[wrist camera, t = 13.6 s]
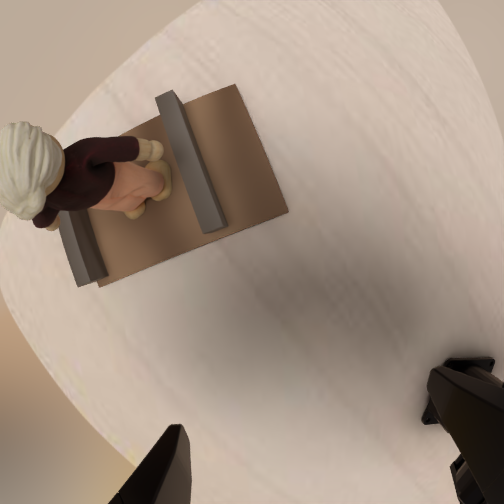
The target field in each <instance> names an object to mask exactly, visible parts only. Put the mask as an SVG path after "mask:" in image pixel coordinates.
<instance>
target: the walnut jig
mask: <svg viewBox="0 0 504 504" xmlns="http://www.w3.org/2000/svg"><path fill="white" fill-rule="evenodd" d="M155 100H156V103H157V106H158V109H159V112H160V115H159V116H157V117H155V118H153V119H151V120H149V121H147V122H145V123H143V124H141V125H139V126H137V127H135V128H133V129H131V130H129V131H127V132H125V133H124V134H122V135H120V136H134V137H136V138H140V139H146V140H148V141H151V140H155V141H158V142H160V143H161V144H162V145H163V148H164V153H163V156H162V157H161V158H160V159H159V160H163V161H166V162H167V163H168V164H169V166H170V169H171V182H172V192H171V194H170V196H169V197H168V198H166V199H164V200H161V201H155V200H153V199H152V198H151V197H147V198H146V199H145V200H144V202H145V206H146V207H145V211H144V213H143V214H142V215H141V216H140V217H139V218H137V219H129V218H128V217H127V216H126V215H125V214H124V212H123V211H113V210H100V209H94V208H88V209H85V210H79V211H60V212H59V213H58V216H59V217H60V225H59V227H58V228H59V231H60V235H61V238H62V242H63V245H64V248H65V251H66V255H67V258H68V261H69V264H70V267H71V270H72V273H73V275H74V278H75V281H76V284H77V286H78V287H81V286H84V285H87V284H90V283H93V282H96V281H97V283H98V286H99V288H100V287H102V286H105V285H107V284H110V283H112V282H114V281H117V280H119V279H122V278H124V277H126V276H129V275H131V274H134V273H136V272H138V271H141V270H143V269H146V268H148V267H151V266H153V265H155V264H158V263H160V262H163V261H165V260H168V259H170V258H173V257H175V256H178V255H180V254H182V253H185V252H187V251H190V250H192V249H195V248H197V247H200V246H203V245H205V244H208V243H210V242H213V241H215V240H218V239H220V238H223V237H225V236H228V235H230V234H233V233H236V232H238V231H241V230H243V229H246V228H248V227H251V226H254V225H256V224H259V223H261V222H264V221H267V220H269V219H272V218H275V217H277V216H280V215H282V214H285V213H288V212H289V211H288V208H287V206H286V203H285V200H284V198H283V195H282V193H281V190H280V188H279V185H278V183H277V180H276V178H275V175H274V173H273V170H272V168H271V166H270V163H269V161H268V158H267V156H266V153H265V151H264V149H263V146H262V144H261V142H260V139H259V137H258V134H257V132H256V130H255V127H254V125H253V123H252V120H251V118H250V116H249V114H248V111H247V109H246V107H245V105H244V102H243V100H242V98H241V96H240V93H239V91H238V89H237V87H236V85H235V84H233V85H230V86H228V87H225V88H222V89H220V90H217V91H214V92H212V93H209V94H207V95H204V96H202V97H199V98H197V99H195V100H192V101H190V102H188V103H185V104H182V102H181V101H180V100H179V98H178V97H177V95H176V94H175V92H174V91H173V90H170V91H168V92H166V93H164V94H162V95H160V96H158V97H155ZM118 137H119V136H118ZM129 162H131V163H134V164H136V165H138V166H141V167H144V168H145V167H146V165H147V164H148V163H150V162H152V161H148V160H143V161H129Z"/></svg>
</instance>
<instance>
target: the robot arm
mask: <svg viewBox="0 0 504 504" xmlns="http://www.w3.org/2000/svg"><path fill="white" fill-rule="evenodd" d="M450 363H451V364H450ZM449 364H450V366H449ZM494 364H495V360H494V359H493V358H491V357H488V358H450V359H448V360H447V361H446V362H445V364H444V366H438V367H435V368H433V369H432V370H431V371H430V375H429V379H428V382H427V390H428V392H429V394H430V396H431V400H430V402H429V404H428V407H427V409H426V411H425V413H424V416H423V418H422V422H423V424H424V425H429V424H438V423H440V424H441V426H442V427H443V428H444V429H445V430H446V432H447V433H450V435H451V437H452V438H453V440H454V442H455V444H456V445H457V447H458V449H459V451H460V452H461V454H460V455H459V456H458V458H457V459H456V460H455V461H454V462H453V463H452V464H451V466H450V470H451V473H452V477H453V481H454V485H455V489H456V493H457V497H458V500H459V502H460V504H504V382H502V381H501V380H500V379H498V378H497V377H495V376H494V375H493V374H491V372H492V369H493V366H494ZM191 486H192V476H191V458H190V442H189V438H188V436H187V433H186V431H185V429H184V427H183V425H182V424H171V425H169V426H168V428H167V429H166V430H165V432H164V433H163V434H162V436H161V437H160V438H159V440H158V441H157V442H156V444H155V445H154V446H153V448H152V449H151V450H150V452H149V453H148V454H147V455H146V457H145V458H144V459H143V461H142V462H141V463H140V464H139V466H138V467H137V468H136V470H135V471H134V472H133V473H132V475H131V476H130V477H129V478H128V480H127V481H126V482H125V484H124V485H123V486H122V487H121V489H120V490H119V491H118V492H119V493H116V495H115V496H114V497H113V498H112V500H111V501H110V502H109V503H108V504H190V500H191Z"/></svg>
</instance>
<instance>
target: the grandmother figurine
mask: <svg viewBox="0 0 504 504" xmlns="http://www.w3.org/2000/svg"><path fill="white" fill-rule="evenodd" d="M163 153H164V148H163V145H162V144H161V143H160V142H158V141H155V140H151V141H148V140H146V139H140V138H136V137H134V136H119V137H108V138H101V137H92V138H85V139H82V140H79V141H77V142H76V143H74V144H72V145H70V146H69V147H67V148H65V149H64V150H63V149H62V147H61V145H60V143H59V142H58V141H57V140H56V139H55V138H54V137H53V136H51V135H49V134H47V133H44V132H42V128H41V127H40V126H36V127H34V126H32V125H30V123H29V122H18V123H9V124H7V125H6V126H5V127H3V128H2V129H1V130H0V204H1V205H2V206H3V207H4V208H5V209H6V210H8V211H9V212H11V213H13V214H15V215H16V216H17V217H18V218H19V219H22V220H27V221H28V220H31V219H32V220H33V224H34V225H35V226H36V227H37V228H46V229H47V230H49V231H54V230H56V229H57V228H58V227H59V225H60V217H59V216H58V213H59V212H60V211H79V210H85V209H88V208H94V209H100V210H113V211H123V212H124V214H125V215H126V216H127V217H128V218H129V219H137V218H139V217H140V216H141V215H142V214H143V213H144V211H145V207H146V206H145V202H144V200H145V199H146V198H147V197H151V198H152V199H153V200H155V201H161V200H164V199H166V198H168V197H169V196H170V194H171V192H172V182H171V169H170V166H169V164H168V163H167V162H166V161H163V160H159V159H160V158H161V157H162V156H163ZM143 160H148V161H152V162H150V163H148V164H147V165H146V167H145V168H144V167H141V166H138V165H136V164H134V163H131V162H129V161H143Z"/></svg>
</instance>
